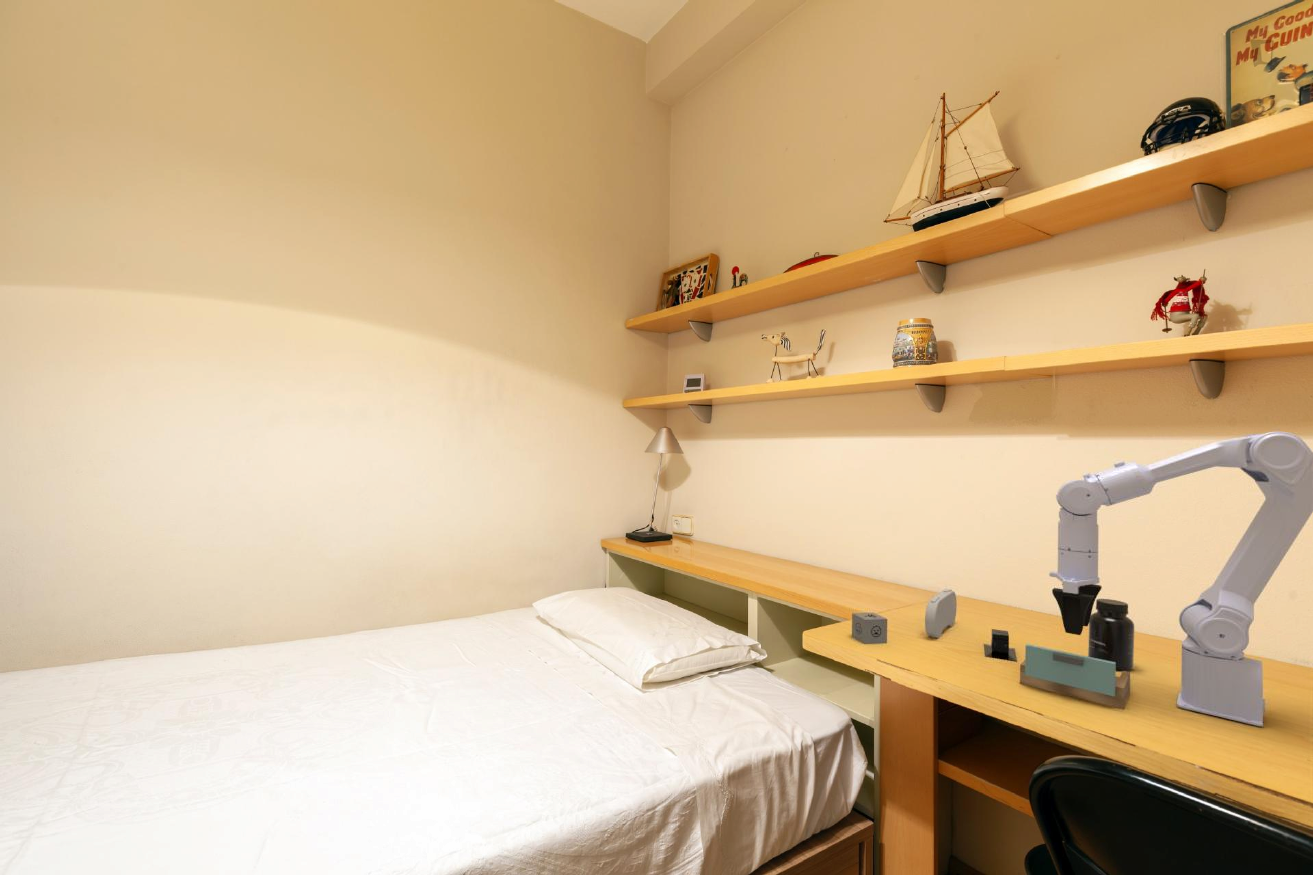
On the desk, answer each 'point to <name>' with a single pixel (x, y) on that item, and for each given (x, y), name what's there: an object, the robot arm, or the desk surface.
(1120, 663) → the supplement bottle
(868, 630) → the dice cube
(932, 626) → the game controller
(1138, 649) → the desk surface
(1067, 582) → the robot arm
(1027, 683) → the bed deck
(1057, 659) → the panel
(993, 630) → the black upright stand
